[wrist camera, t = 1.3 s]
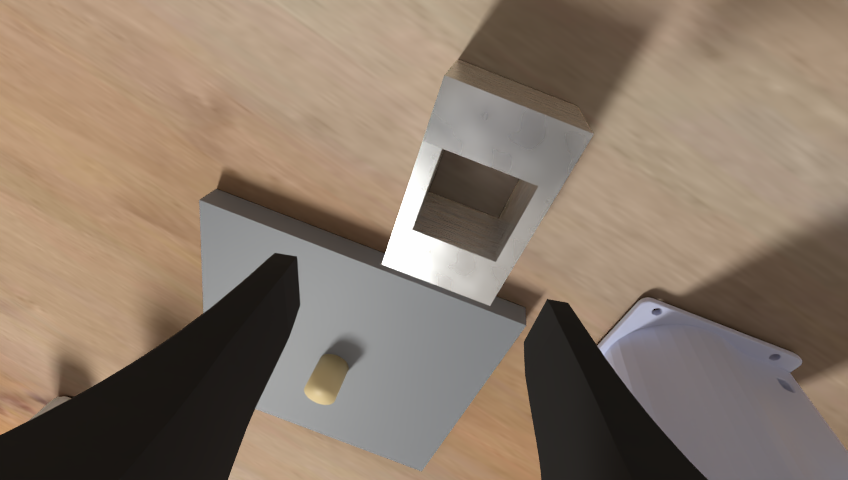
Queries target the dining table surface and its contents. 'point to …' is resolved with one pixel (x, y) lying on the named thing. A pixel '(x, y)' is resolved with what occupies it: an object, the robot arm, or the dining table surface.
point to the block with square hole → (494, 147)
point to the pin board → (359, 334)
